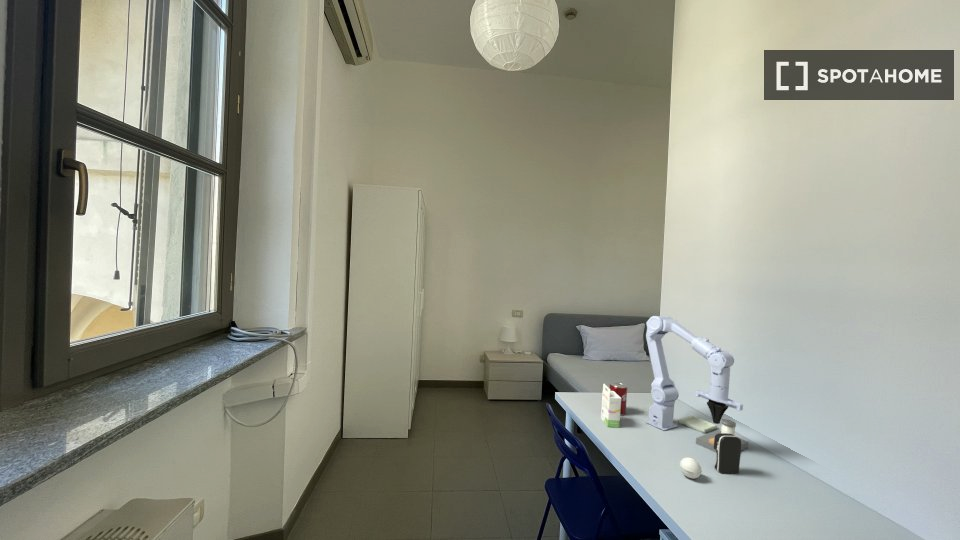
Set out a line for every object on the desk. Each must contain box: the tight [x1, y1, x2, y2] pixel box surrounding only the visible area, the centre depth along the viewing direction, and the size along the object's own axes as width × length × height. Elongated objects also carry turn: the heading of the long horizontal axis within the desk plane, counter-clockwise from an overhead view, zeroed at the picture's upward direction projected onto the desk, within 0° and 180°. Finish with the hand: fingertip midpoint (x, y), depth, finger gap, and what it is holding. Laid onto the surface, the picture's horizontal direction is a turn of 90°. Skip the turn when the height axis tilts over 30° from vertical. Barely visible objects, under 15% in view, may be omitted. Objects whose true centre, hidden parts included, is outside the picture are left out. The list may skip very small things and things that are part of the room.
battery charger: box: [714, 433, 742, 474], centre depth 111 cm, size 7×4×11 cm, turn 94°
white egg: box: [679, 456, 708, 479], centre depth 105 cm, size 8×6×6 cm
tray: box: [678, 415, 718, 435], centre depth 143 cm, size 10×10×2 cm
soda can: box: [608, 382, 628, 416], centre depth 152 cm, size 7×7×12 cm
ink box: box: [600, 383, 621, 429], centre depth 141 cm, size 9×5×15 cm, turn 179°
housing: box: [695, 429, 749, 453], centre depth 128 cm, size 16×10×2 cm, turn 121°
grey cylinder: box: [720, 418, 737, 436], centre depth 130 cm, size 4×4×8 cm
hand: (716, 422), depth 125 cm, fingers closed
